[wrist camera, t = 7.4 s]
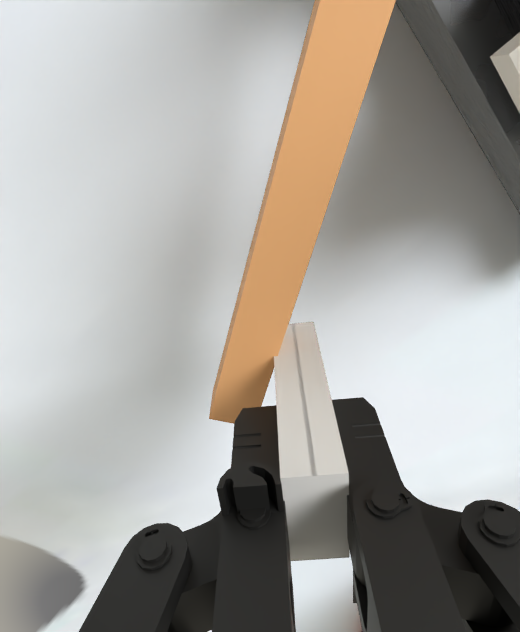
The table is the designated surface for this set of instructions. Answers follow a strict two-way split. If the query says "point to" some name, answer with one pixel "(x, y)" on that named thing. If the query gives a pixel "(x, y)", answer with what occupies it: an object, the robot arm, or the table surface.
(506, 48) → the plug
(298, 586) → the table surface
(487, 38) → the power strip
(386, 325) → the table surface
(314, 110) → the orange rectangular bar
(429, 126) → the table surface
